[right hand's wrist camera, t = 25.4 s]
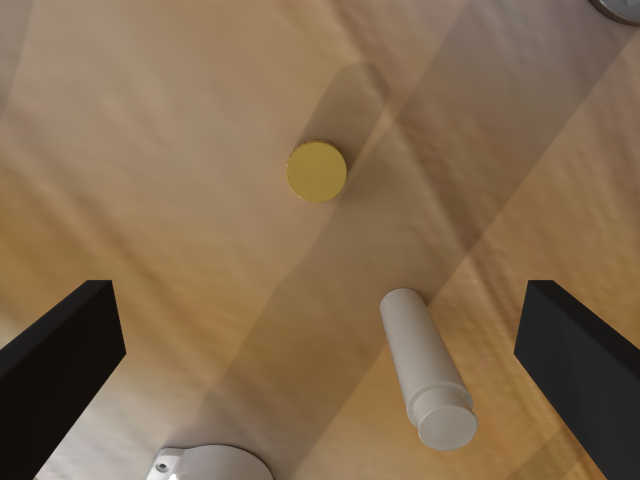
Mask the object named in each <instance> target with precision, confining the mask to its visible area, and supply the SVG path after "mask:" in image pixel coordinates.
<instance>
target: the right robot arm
mask: <svg viewBox="0 0 640 480" xmlns="http://www.w3.org/2000/svg"><path fill="white" fill-rule="evenodd" d="M589 2H590V3H591V4H592V5H593V6H594V7H595V8H596V9H597V10H598V11H599V12H601V13H602V14H603V15H605V16H606V17H608V18H610V19H611V20H614V21H616V22H618V23H622V24H625V25H630V26H640V0H589ZM125 355H126V349H125V344H124V339H123V334H122V329H121V324H120V320H119V315H118V310H117V305H116V300H115V295H114V290H113V285H112V280H87V281H86V282H84V283H83V284H82V285H81V286H79V287H78V288H77V289H76V290H74V291H73V292H72V293H71V294H69V295H68V296H67V297H66V298H64V299H63V300H62V301H61V302H59V303H58V304H57V305H56V306H54V307H53V308H52V309H51V310H49V311H48V312H47V313H46V314H44V315H43V316H42V317H41V318H39V319H38V320H37V321H36V322H35V323H33V324H32V325H31V326H30V327H28V328H27V329H26V330H25V331H23V332H22V333H21V334H20V335H18V336H17V337H16V338H15V339H13V340H12V341H11V342H10V343H8V344H7V345H6V346H5V347H3V348H2V349H1V350H0V480H33V478H34V477H35V476H36V474H37V473H38V472H39V470H40V469H41V468H42V466H43V465H44V464H45V462H46V461H47V460H48V458H49V457H50V456H51V454H52V453H53V452H54V450H55V449H56V448H57V446H58V445H59V444H60V442H61V441H62V439H63V438H64V437H65V435H66V434H67V433H68V431H69V430H70V429H71V427H72V426H73V425H74V423H75V422H76V421H77V419H78V418H79V417H80V415H81V414H82V413H83V411H84V410H85V409H86V407H87V406H88V405H89V403H90V402H91V401H92V399H93V398H94V396H95V395H96V394H97V392H98V391H99V390H100V388H101V387H102V386H103V384H104V383H105V382H106V380H107V379H108V378H109V376H110V375H111V374H112V372H113V371H114V370H115V368H116V367H117V366H118V364H119V363H120V362H121V360H122V359H123V358H124V356H125ZM514 355H515V356H516V358H517V359H518V360H519V362H520V363H521V364H522V366H523V367H524V368H525V370H526V371H527V372H528V374H529V375H530V376H531V378H532V379H533V380H534V382H535V383H536V384H537V386H538V387H539V388H540V390H541V391H542V392H543V394H544V395H545V396H546V398H547V399H548V401H549V402H550V403H551V405H552V406H553V407H554V409H555V410H556V411H557V413H558V414H559V415H560V417H561V418H562V419H563V421H564V422H565V423H566V425H567V426H568V427H569V429H570V430H571V431H572V433H573V434H574V435H575V437H576V438H577V439H578V441H579V442H580V444H581V445H582V446H583V448H584V449H585V450H586V452H587V453H588V454H589V456H590V457H591V458H592V460H593V461H594V462H595V464H596V465H597V466H598V468H599V469H600V470H601V472H602V473H603V474H604V476H605V477H606V478H607V480H640V350H639V349H638V348H637V347H635V346H634V345H633V344H632V343H630V342H629V341H628V340H627V339H625V338H624V337H623V336H622V335H620V334H619V333H618V332H617V331H615V330H614V329H613V328H612V327H610V326H609V325H608V324H607V323H605V322H604V321H603V320H602V319H601V318H599V317H598V316H597V315H596V314H594V313H593V312H592V311H591V310H589V309H588V308H587V307H586V306H584V305H583V304H582V303H581V302H579V301H578V300H577V299H576V298H574V297H573V296H572V295H571V294H569V293H568V292H567V291H566V290H564V289H563V288H562V287H561V286H559V285H558V284H557V283H556V282H554V281H553V280H528V285H527V290H526V295H525V300H524V305H523V310H522V315H521V320H520V324H519V329H518V334H517V339H516V344H515V349H514Z"/></svg>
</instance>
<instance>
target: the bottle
mask: <svg viewBox="0 0 640 480" xmlns="http://www.w3.org/2000/svg"><path fill="white" fill-rule="evenodd" d="M379 310H380V315H381V319H382V323H383V326H384V330H385V334H386V337H387V341H388V345H389V348H390V352H391V356H392V359H393V363H394V367H395V370H396V374H397V378H398V381H399V385H400V389H401V392H402V396H403V400H404V403H405V407H406V411H407V414H408V417H409V420H410V421H411V423H412V424H413V425H414V426H415V427H417V430H418V433H419V436H420V439H421V440H422V441H423V443H424V444H426V445H427V446H428V447H430V448H432V449H435V450H440V451H450V450H455V449H458V448H461V447H463V446H464V445H466V444H467V443H469V442H470V441H471V440H472V439H473V437H474V436H475V434H476V431H477V427H478V419H477V417H476V414H475V413H473V412H472V410H473V400H472V397H471V395H470V393H469V391H468V389H467V387H466V385H465V383H464V381H463V379H462V377H461V375H460V373H459V371H458V369H457V367H456V365H455V363H454V361H453V359H452V357H451V355H450V353H449V351H448V349H447V347H446V345H445V343H444V341H443V339H442V337H441V335H440V333H439V331H438V329H437V327H436V325H435V323H434V321H433V319H432V317H431V315H430V313H429V311H428V309H427V306H426V304H425V302H424V300H423V299H422V297H421V296H420V295H419V294H418V293H417V292H416V291H414V290H411V289H408V288H400V289H395V290H393V291H391V292H389V293H388V294H387V295H386V296H385V297H384V298H383V299H382V301H381V303H380V309H379Z"/></svg>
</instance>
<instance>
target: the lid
mask: <svg viewBox="0 0 640 480" xmlns="http://www.w3.org/2000/svg"><path fill="white" fill-rule="evenodd" d="M343 157H344V156H343V154H341V152H340V150H339V149H338V148H336V147H335V145H333V144H331V143H330V142H329V141H328V142H327V141H324V140H323V139H322V140H317V139H316V140H311V139H310V141H307V142H305V141H304V143H302V144H301V145H298V147H297V148H296V149H294V151H293V153H292V154H291V155H290V159H289V160H288V162H287V163H288V164H287V168H286V170H287V174H286V176H287V180H288V183H289V185H290V187H291V189H292V190H293V191H294V193H295V194H297V195H298V196H299V197H300V198H302V199H304V200H307V201H310V202H324V201H327V200H329V199H331V198H333V197H335V196H336V195H337V194H338V193H339V192H340V191H341V189H342V188H343V186H344V184H345V182H346V177H347V166H346V161H345V159H344V158H343Z"/></svg>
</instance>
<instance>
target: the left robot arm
mask: <svg viewBox="0 0 640 480" xmlns="http://www.w3.org/2000/svg"><path fill="white" fill-rule="evenodd" d="M144 480H273V477H272V474H271V473H270V471H269V469H268V468H267V467H266V466H265V464H264V463H263V462H262V461H260V460H259V459H258V458H256V457H255V456H253V455H252V454H250V453H248V452H246V451H244V450H241V449H238V448H235V447H231V446H224V445H205V446H199V447H195V448H190V449H178V448H164V449H162V450H160V451H159V453H158V455H157V457H156V458H155V460H154V462H153V464H152V466H151V468H150V470H149V471H148V473H147V475H146V477H145V479H144Z"/></svg>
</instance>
